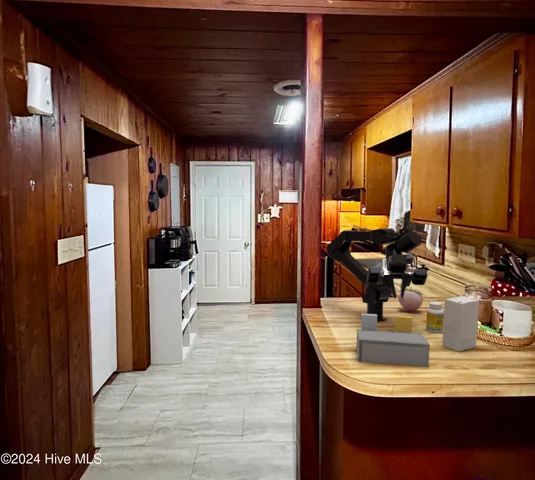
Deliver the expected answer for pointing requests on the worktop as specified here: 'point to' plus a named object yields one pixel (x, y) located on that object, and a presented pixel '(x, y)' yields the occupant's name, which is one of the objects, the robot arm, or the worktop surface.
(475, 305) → the skincare box
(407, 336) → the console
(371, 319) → the light gray button
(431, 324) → the supplement bottle
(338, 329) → the worktop surface
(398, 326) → the mustard button
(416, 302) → the decorative fruit
